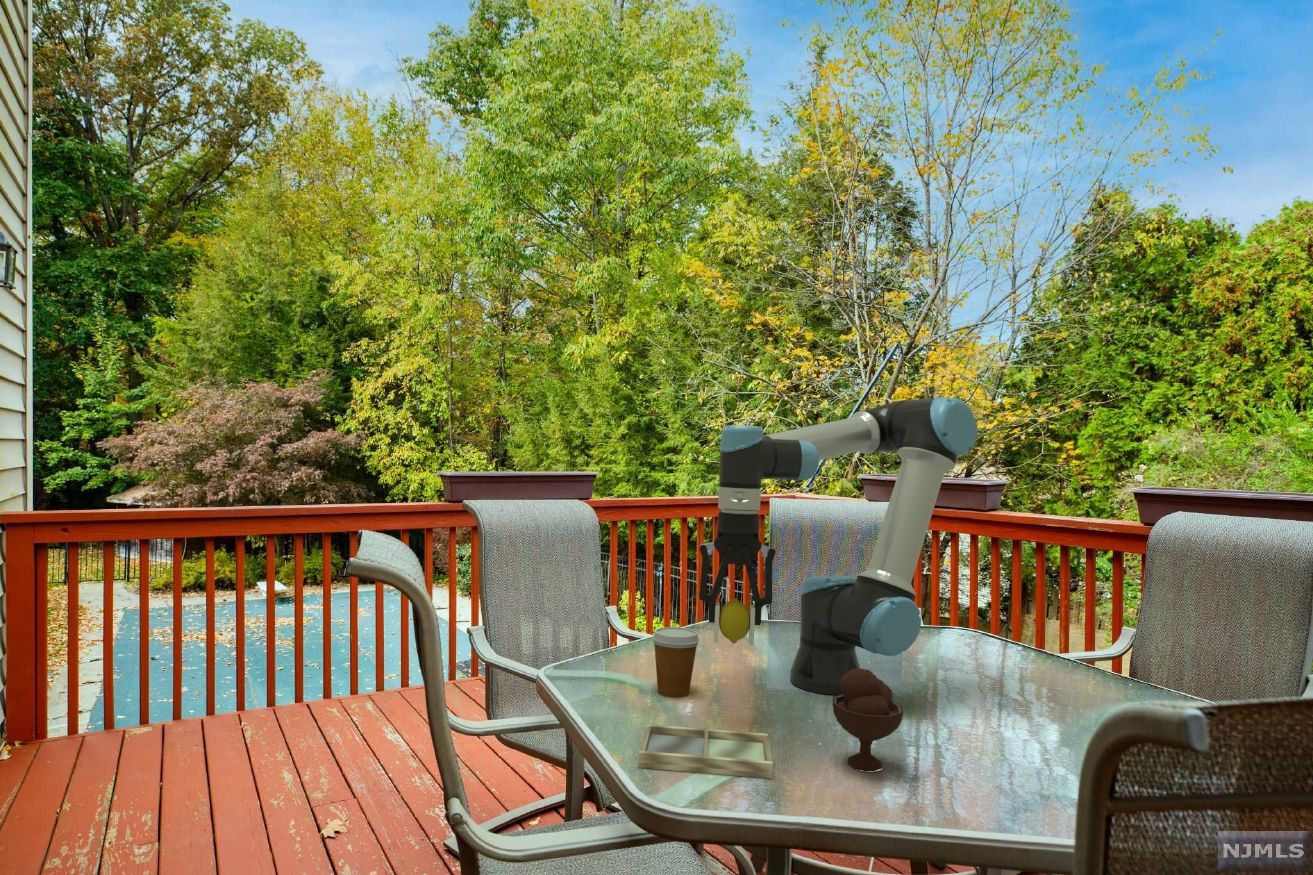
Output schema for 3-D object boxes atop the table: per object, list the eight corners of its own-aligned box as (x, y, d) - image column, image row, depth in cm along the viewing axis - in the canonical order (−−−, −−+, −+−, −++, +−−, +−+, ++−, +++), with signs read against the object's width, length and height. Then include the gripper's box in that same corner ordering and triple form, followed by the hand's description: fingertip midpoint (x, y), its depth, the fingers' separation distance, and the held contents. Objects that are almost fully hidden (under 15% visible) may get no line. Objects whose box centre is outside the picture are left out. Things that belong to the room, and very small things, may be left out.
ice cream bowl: (892, 786, 107) (896, 683, 108) (819, 766, 113) (822, 669, 114) (909, 763, 116) (912, 668, 117) (840, 745, 122) (844, 655, 123)
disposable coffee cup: (693, 702, 141) (696, 639, 141) (645, 696, 143) (648, 635, 143) (700, 687, 150) (702, 629, 151) (654, 682, 152) (657, 624, 153)
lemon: (715, 639, 133) (717, 595, 133) (745, 639, 133) (747, 595, 133) (721, 647, 127) (722, 601, 127) (752, 647, 128) (753, 601, 128)
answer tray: (767, 747, 120) (767, 733, 120) (772, 778, 108) (772, 763, 108) (646, 737, 122) (646, 724, 122) (638, 767, 110) (638, 752, 110)
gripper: (686, 510, 128) (680, 643, 127) (793, 515, 126) (788, 650, 126) (687, 507, 135) (682, 633, 135) (789, 512, 134) (784, 640, 133)
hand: (733, 641), depth 130 cm, fingers closed on lemon, 5 cm apart
